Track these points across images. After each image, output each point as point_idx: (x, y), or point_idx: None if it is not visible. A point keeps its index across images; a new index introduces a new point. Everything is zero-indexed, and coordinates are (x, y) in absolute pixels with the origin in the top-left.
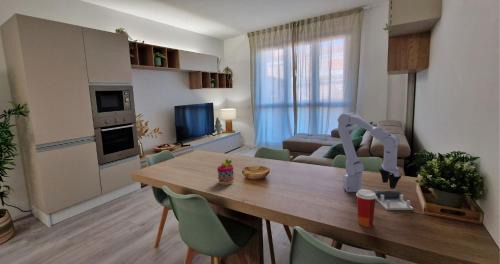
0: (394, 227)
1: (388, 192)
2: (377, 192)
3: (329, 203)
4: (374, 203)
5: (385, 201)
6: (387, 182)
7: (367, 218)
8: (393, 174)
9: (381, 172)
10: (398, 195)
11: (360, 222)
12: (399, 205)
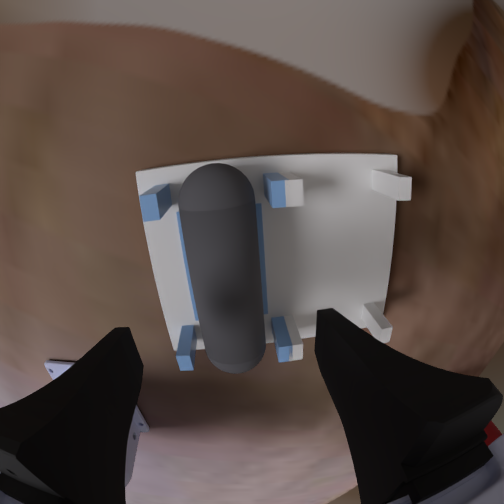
0: (482, 316)
1: (248, 304)
2: (238, 372)
3: (282, 470)
4: (498, 430)
5: (292, 305)
6: (127, 327)
7: None
8: (442, 496)
9: (124, 494)
10: (254, 204)
11: None
12: (361, 234)
